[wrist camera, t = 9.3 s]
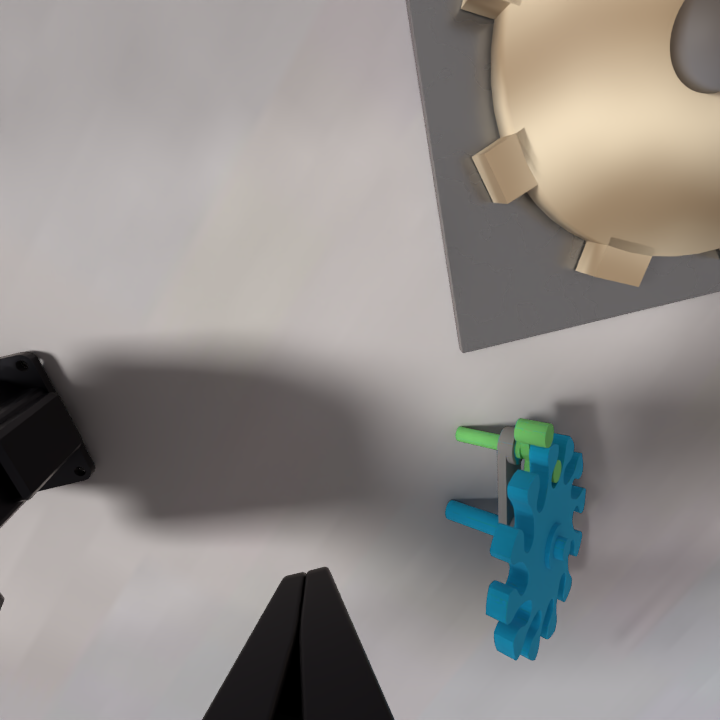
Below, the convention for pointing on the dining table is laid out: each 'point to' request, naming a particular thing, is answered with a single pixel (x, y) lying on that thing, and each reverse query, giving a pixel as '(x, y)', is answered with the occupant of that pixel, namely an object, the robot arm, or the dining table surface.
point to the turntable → (609, 124)
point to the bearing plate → (511, 208)
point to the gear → (528, 529)
